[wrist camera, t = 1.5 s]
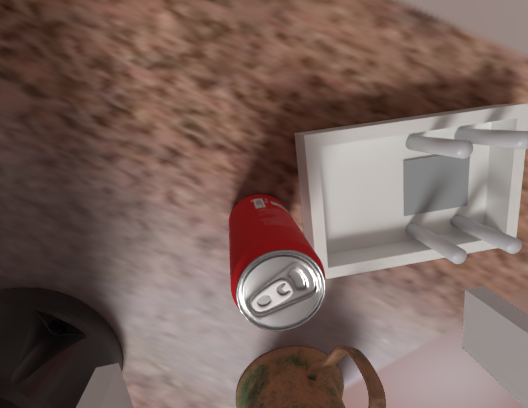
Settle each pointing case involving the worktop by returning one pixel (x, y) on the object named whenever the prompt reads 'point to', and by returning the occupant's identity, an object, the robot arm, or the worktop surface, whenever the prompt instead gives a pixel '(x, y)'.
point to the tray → (413, 188)
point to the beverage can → (272, 266)
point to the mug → (303, 379)
